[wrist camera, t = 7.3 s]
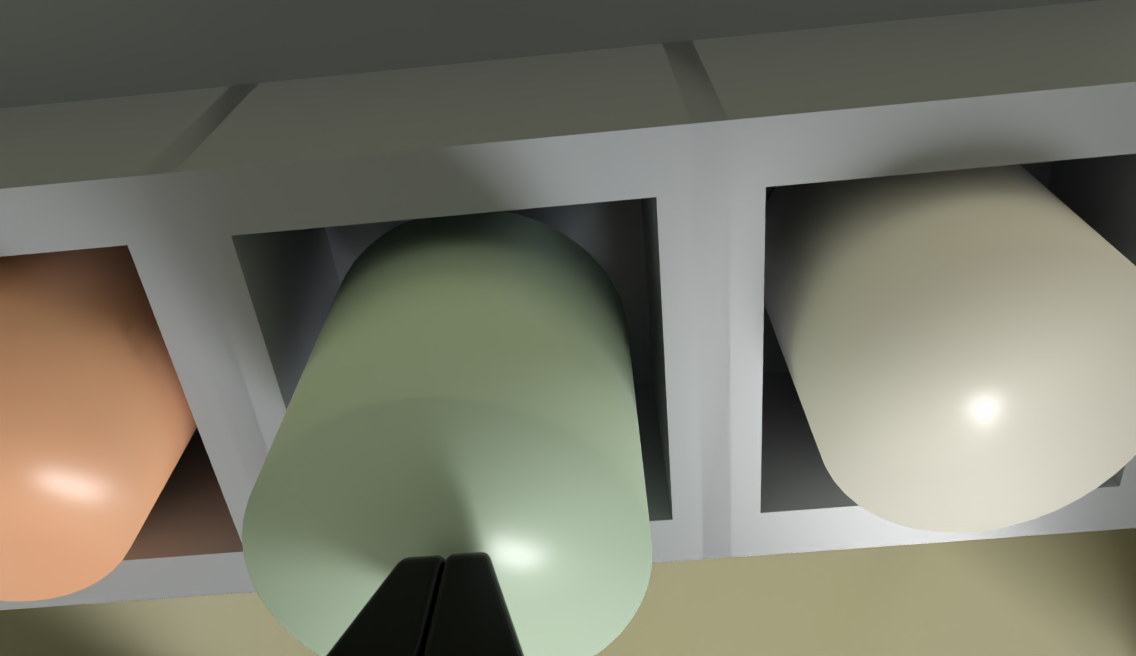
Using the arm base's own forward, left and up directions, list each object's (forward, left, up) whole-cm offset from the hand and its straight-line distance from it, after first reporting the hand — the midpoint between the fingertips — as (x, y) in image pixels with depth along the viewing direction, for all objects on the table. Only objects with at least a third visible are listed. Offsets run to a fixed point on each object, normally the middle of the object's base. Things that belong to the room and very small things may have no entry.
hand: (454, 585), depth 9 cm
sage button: (0, 0, -4) cm, 4 cm away
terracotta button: (+6, 0, -6) cm, 9 cm away
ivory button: (-6, 0, -6) cm, 8 cm away
